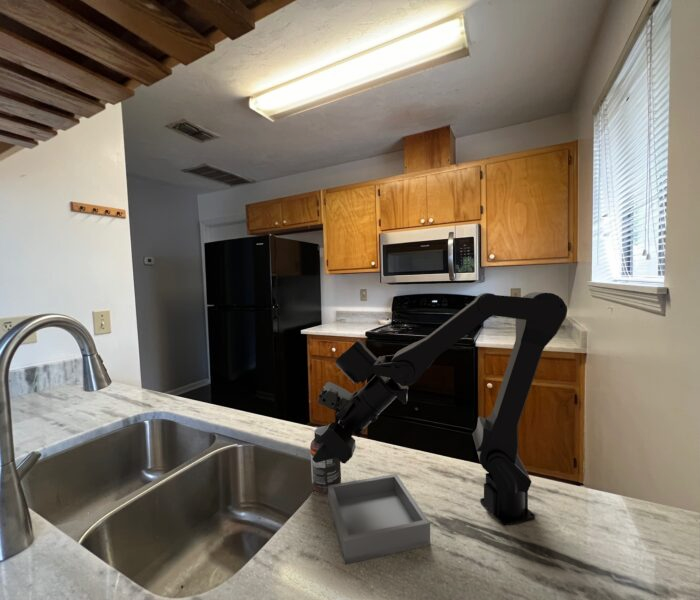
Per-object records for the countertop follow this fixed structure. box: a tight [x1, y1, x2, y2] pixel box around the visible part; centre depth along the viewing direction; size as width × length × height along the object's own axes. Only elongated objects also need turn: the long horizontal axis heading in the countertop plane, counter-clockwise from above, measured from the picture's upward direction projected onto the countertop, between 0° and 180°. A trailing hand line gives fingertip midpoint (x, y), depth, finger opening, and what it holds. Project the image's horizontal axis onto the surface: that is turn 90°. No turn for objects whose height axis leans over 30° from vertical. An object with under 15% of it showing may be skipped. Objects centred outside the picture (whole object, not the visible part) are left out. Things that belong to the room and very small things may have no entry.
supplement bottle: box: [309, 425, 342, 494], centre depth 64 cm, size 6×6×11 cm
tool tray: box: [327, 473, 431, 565], centre depth 54 cm, size 14×14×4 cm
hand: (318, 452), depth 64 cm, fingers closed on supplement bottle, 6 cm apart
